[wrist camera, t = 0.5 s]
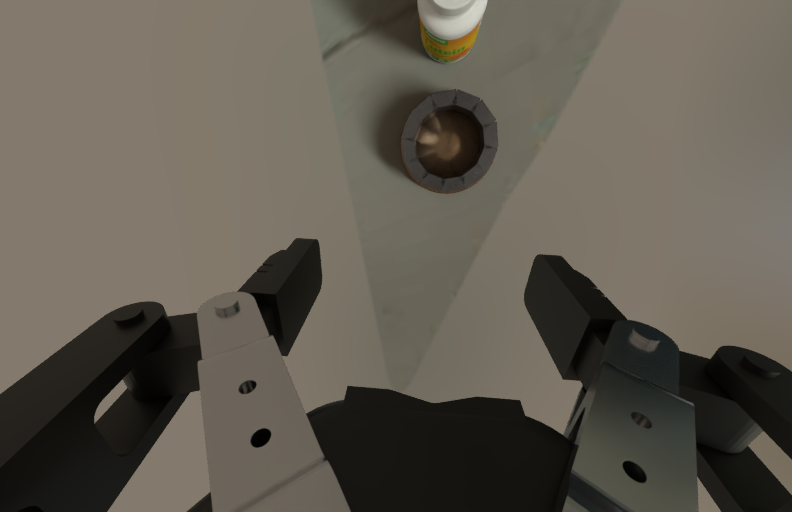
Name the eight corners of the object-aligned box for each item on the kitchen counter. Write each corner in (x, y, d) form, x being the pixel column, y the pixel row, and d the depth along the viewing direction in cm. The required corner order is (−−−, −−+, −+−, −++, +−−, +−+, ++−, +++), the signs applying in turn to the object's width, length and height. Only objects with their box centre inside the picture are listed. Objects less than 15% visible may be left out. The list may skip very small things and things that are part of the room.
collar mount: (422, 79, 31) (419, 66, 27) (513, 114, 30) (523, 107, 27) (388, 173, 34) (382, 174, 30) (470, 206, 34) (474, 211, 30)
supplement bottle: (418, 63, 30) (409, 19, 21) (425, -2, 29) (419, -80, 19) (472, 67, 30) (487, 23, 20) (482, 1, 28) (503, -78, 19)
